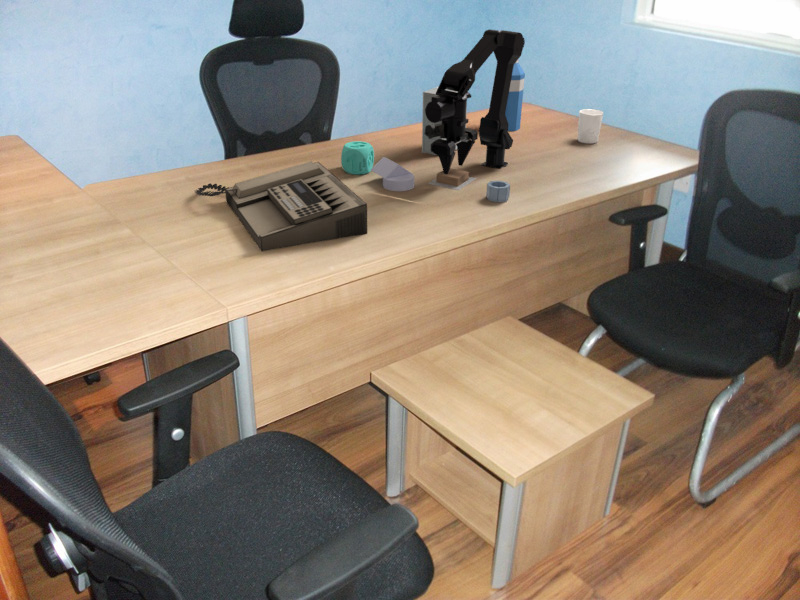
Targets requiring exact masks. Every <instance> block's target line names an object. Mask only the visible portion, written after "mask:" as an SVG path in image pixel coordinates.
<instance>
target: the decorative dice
mask: <svg viewBox="0 0 800 600" xmlns="http://www.w3.org/2000/svg"><path fill="white" fill-rule="evenodd" d="M342 147H343V148H342V150H341V157H340V158H341V159H340V160H341V161H340V162H341V168H342V169H343V170H344V172H345V173H346V174H348V175H352V176H353V175H355V176H356V175H357V176H359V175H360V176H361V175H367V174H369V173H371V172H372V171H371V169H372V168H373V167H374V162H375V150H374V146H373V145H371V143H369V142H367V141H361V140H357V141H355V140H353V141H349V142H347V143H344V145H343V146H342Z"/></svg>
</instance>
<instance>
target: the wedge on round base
mask: <svg viewBox="0 0 800 600" xmlns="http://www.w3.org/2000/svg"><path fill="white" fill-rule="evenodd" d="M370 172H373V173H374V174H377V175H378V176H380V177H381V178H382V187H383V188H384V189H385V190H387V191H393V192H406V191H410V190H412V189H414V188H415V175H414V173H412V172H411V171H409V170H408V169H406V168H405V167H403V166H402V165H400V164H398V163H397V162H395V161H393V160H392V159H389V158H387V157H386V156H383V157H381V159H380V160H379V161H377V163H376V164H374V165H373V167H372V169H371V171H370Z"/></svg>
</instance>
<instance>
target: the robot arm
mask: <svg viewBox="0 0 800 600" xmlns="http://www.w3.org/2000/svg"><path fill="white" fill-rule="evenodd" d="M525 41H526V40H525V37H524V35H523V34H522V33H521V32H519V31H510V30H506V29H505V30H504V29H503V30H502V29H501V30H498V29H497V30H496V29H486V30H485V31H484V32H483V34H482V37H481V38H480V39H479V41H477V43H476V44H475V45H474V46H473V47H472V49H471V50H470V51H469V52H468V53H467V54H466V56H465V57H464V58H463V59H462V60H461V61H458V62H457V63H455V64H452V65H451V66H450V67H449V68H448V69H446V71H445V72H444V73H443V75H442V78H441V80H440V83H439V85H438V86H437V87H438V89H437V91H436V95H439V96H433V97H432V99H431V102H429V103H428V104H427V106H426V108H425V114H426V117H427V119H428V120H429V121H430V122H432V123H437V122H440V121H442V123H440V124H435V125H433V124H430V125H427V126H426V127H425V132H424V134H425V135H426V136H427V137H428V138H429V139H432V138H433V137H438V136H440V138H443V139H444V138H446V140H443V139H438V140H436V141H434V142H433V143H431V144H430V151H431V152H433V153H434V154H436V155H435V156H437V157H438V159H439V161H440V165H441V167H442V171H443V172H444V174H448V173H449V170H450V168H451V167H452V165H453V162H454V158H455V156H456V153H457V164H458V166H461V167H462V166H463V165H464V163H465V161H466V159H467V157H468V156H469V153H470V151H471V149H472V148H473V145H474V144H475V143H476V141H477V140H478V137H479V142H480V145H482V146H486V152H485V161H484V162H482V163H481V166H483V167H486V168H487V167H488V168H492V169H493V168H494V169H498V170H500V169H502V168H504V167H506V166H507V165H509V162H507V161H505V157H506V156H505V154H506V150H510V149H511V148H512V146H513V144H514V139H513V137H512V136H511V135H510V133H509V131H508V125H509V124H508V121H507V118H506V115H505V112H506V106H507V100H508V95H509V89H510V84H511V78H512V72H513V67H514V64H515V62H516V61H517V60H518V59H520V57H521V56H522V55H523V50H524V46H525ZM492 54H494V57H495V60H496V67H495V73H494V77H493V84H492V90H491V96H490V104H489V109H488V112H487V113H486V115H485V116H481V118H480V120H479V127H478V131H477V129H475V128H469V127H467V124H468V123H469V120H470V119H469V118H467V113H466V108H468V99H470V98H472V94H471V93H470V92H469V91H470V90H471V88H472V86H473V85H474V83H475V81H476V74H477V72H478V71H479V70H480V68H481V67H482V66H483V65H484V64H485V63H486V61H487V60H488V58H489V57H490V56H491V55H492ZM518 61H519V60H518ZM446 89H447V90H452V91H457V92H452V91H447V90H446ZM465 126H466V128H465ZM455 144H456V145H455ZM456 146H457V150H455V149H456ZM455 151H457V152H455Z"/></svg>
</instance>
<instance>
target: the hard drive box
mask: <svg viewBox="0 0 800 600" xmlns="http://www.w3.org/2000/svg"><path fill="white" fill-rule="evenodd" d="M438 87H439V86H435V87H433V88H431V89H428V90H427V89H426V90H425V91H422V119H421V120H422V121H421V122H422V125H421V126H422V127H421V128H422V129H421V130H422V131H421V134H422V135H421V136H422V137H421V140H422V141H421V153H422V154H429V155H434V156H437V155H436V154H434V153H433V152H431V151H430V144H431V143H433V142H434V141H436V140H438V139H443V138H440V136H438V137H433V138H432V139H429V138H428V137H427V136H426V135H425V134H424V132H425V127H426V126H427V125H430V124H433V125H435V124H440V123H442V121H440V122H437V123H432V122H430V121H429V120H428V119H427V117H426V114H425V108H426V106H427V104H428V103H429V102H431V99H432V97H433V96H439V95H436V91H437V89H438ZM446 90H447V89H446ZM447 91H452V90H447ZM452 92H457V91H452ZM467 108H468V107H467ZM467 108H466V114H467V110H468V109H467ZM465 128H467V125H466V126H465ZM443 140H446V138H444V139H443ZM455 145H456V144H455ZM455 151H457V146H456V149H455Z"/></svg>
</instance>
